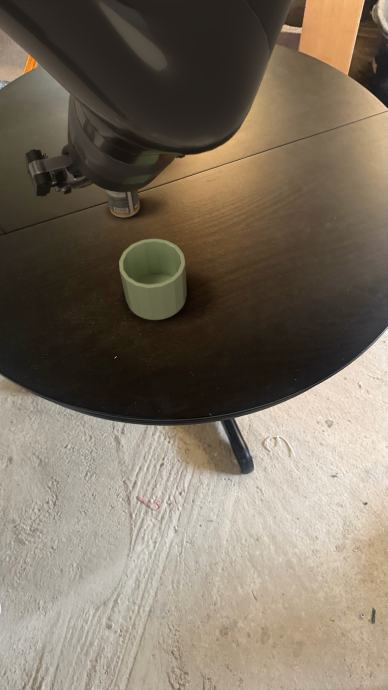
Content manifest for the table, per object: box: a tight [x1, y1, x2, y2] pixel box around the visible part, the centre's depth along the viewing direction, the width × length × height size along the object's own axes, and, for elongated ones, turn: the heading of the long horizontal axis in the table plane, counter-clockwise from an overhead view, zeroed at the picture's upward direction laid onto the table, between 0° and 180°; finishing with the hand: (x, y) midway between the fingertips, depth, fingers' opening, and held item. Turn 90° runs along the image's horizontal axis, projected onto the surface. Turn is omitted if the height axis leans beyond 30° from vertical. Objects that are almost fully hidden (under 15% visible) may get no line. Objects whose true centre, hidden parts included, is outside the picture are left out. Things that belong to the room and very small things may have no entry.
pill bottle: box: [104, 189, 141, 219], centre depth 85 cm, size 6×6×10 cm
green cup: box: [118, 238, 188, 321], centre depth 74 cm, size 10×10×8 cm
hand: (105, 171), depth 47 cm, fingers open, 8 cm apart
